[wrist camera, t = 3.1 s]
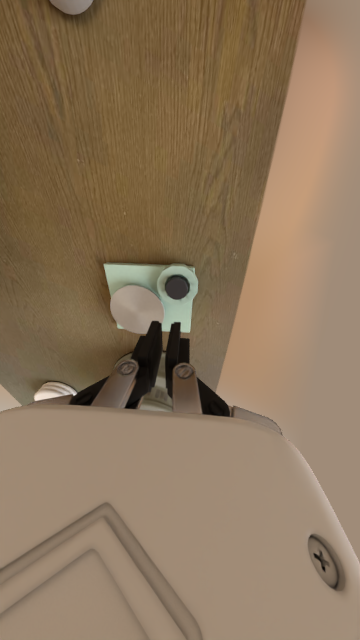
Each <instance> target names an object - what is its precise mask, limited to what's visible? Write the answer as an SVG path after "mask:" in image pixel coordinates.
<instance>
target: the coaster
mask: <svg viewBox="0 0 360 640" xmlns="http://www.w3.org/2000/svg"><path fill="white" fill-rule="evenodd" d="M70 394H73V396H75V395H76V394H77V392H76V391H75V390H74V389H73V388H71V387H70V386H68V385H66V384H63V383H60V382H47V383H45V384H44V385H43V386H42V387H41V388H40V389H39V390H38V391H37V392H36V393H35V395H34V399H35V401H38V400H43V399H49V398H54V397H59V396H65V395H70Z"/></svg>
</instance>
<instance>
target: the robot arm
mask: <svg viewBox="0 0 360 640" xmlns="http://www.w3.org/2000/svg"><path fill="white" fill-rule="evenodd" d="M180 333H181V322H174V324H173V323H171V328H170V334H169V339H168V344H167V349H166V355H165V380H166V389H167V394H168V395H169V397H170V398H171V399H172V412H164V411H150V410H139V409H140V407H141V404H142V401H143V398H144V395H145V394H147V393H148V392H151V389H152V388H154V387H155V383H156V378H157V374H158V369H159V365H160V360H161V356H162V350H163V345H162V323H159V321H152V322H151V324H150V327H149V329H148V331H147V334H146V336H140V338H139V340H138V342H137V345H136V347H135V349H134V351H133V354H132V356H131V358H130V359H127V360H124V361H121V362H120V363H119V364H118V365H117V366H116V367H115V369H114V370H113V372H112V373H111V375H110V376H108V377H106V378H104V379H102V380H100V381H99V382H97V383H95V384H93V385H91V386H89V387H87V388H86V389H84V390H82V391H80V392H79V393H77V394H76V395H75V396H73V394H70V395H65V396H59V397H54V398H49V399H43V400H38V401H35V402H32V403H30V404H28V405H26V406H21V407H15V408H12V409H8V410H5V411H1V412H0V640H360V563H359V561H358V559H357V557H356V555H355V553H354V551H353V548H352V546H351V544H350V543H349V540H348V538H347V536H346V534H345V532H344V530H343V528H342V526H341V525H340V523H339V521H338V519H337V517H336V515H335V513H334V511H333V509H332V507H331V505H330V503H329V501H328V499H327V497H326V495H325V494H324V492H323V490H322V488H321V486H320V484H319V482H318V480H317V479H316V477H315V475H314V474H313V472H312V470H311V468H310V467H309V465H308V464H307V462H306V460H305V459H304V458H303V456H302V455H301V453H300V452H299V451H298V449H297V448H296V447H295V446H294V445H293V444H292V443H291V442H290V441H289V440H287V439H286V438H285V437H283V435H282V432H281V429H280V428H279V426H278V425H277V424H276V423H275V422H274V421H273V420H271V419H269V418H267V417H265V416H262V415H259V414H256V413H253V412H250V411H248V410H245V409H242V408H239V407H236V406H233V407H231V406H228V405H227V404H226V403H225V401H224V400H222V399H221V398H220V397H219V396H218V395H217V394H216V393H215V392H213V391H212V390H211V389H210V388H209V387H208V386H207V385H205V384H204V383H203V382H202V381H201V380H200V379H198V378H197V376H196V371H195V368H194V367H193V366H192V365H191V364H189V339H186V338H180ZM309 536H310V537H309Z"/></svg>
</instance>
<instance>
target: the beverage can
mask: <svg viewBox="0 0 360 640" xmlns="http://www.w3.org/2000/svg"><path fill="white" fill-rule="evenodd" d="M49 1H50V2H51V3H52V4H53V5H54V6H55V7H57V8H58V9H60V10H61V11H63V12H64V13H67V14H71V15H76V14H80V13H82V12H84V11H85V10H86V9H87V8H88V7H89V6H90V5H91V4H92V2H93V0H49Z"/></svg>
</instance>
